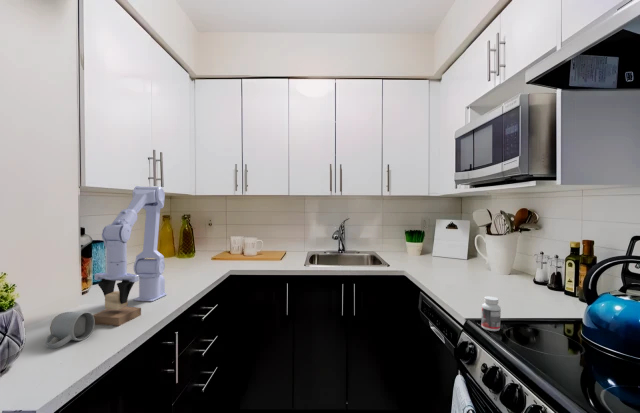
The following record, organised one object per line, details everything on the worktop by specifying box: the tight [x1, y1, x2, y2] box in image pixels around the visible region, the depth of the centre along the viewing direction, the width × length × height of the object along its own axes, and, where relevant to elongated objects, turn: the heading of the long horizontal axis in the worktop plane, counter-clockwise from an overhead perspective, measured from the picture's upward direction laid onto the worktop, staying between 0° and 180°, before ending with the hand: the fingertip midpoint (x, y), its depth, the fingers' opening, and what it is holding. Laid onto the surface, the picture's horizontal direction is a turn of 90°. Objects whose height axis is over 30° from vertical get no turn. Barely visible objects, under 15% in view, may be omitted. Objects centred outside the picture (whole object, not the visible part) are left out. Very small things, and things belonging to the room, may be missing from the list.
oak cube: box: [104, 290, 129, 310], centre depth 110 cm, size 4×4×4 cm
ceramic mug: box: [45, 310, 96, 349], centre depth 93 cm, size 11×8×8 cm
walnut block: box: [92, 306, 142, 327], centre depth 110 cm, size 10×10×3 cm
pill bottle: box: [480, 295, 502, 332], centre depth 107 cm, size 5×5×10 cm
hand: (116, 302), depth 110 cm, fingers closed on oak cube, 4 cm apart
